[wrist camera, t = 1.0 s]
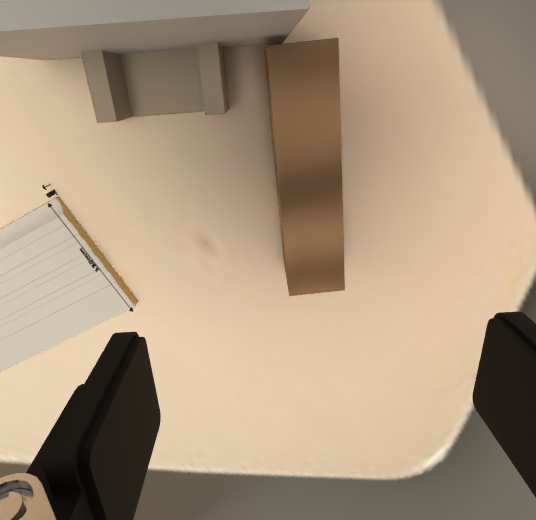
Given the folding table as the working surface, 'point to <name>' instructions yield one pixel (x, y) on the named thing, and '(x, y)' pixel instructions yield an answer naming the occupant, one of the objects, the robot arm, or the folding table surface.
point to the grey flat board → (52, 283)
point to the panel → (146, 46)
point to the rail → (308, 161)
